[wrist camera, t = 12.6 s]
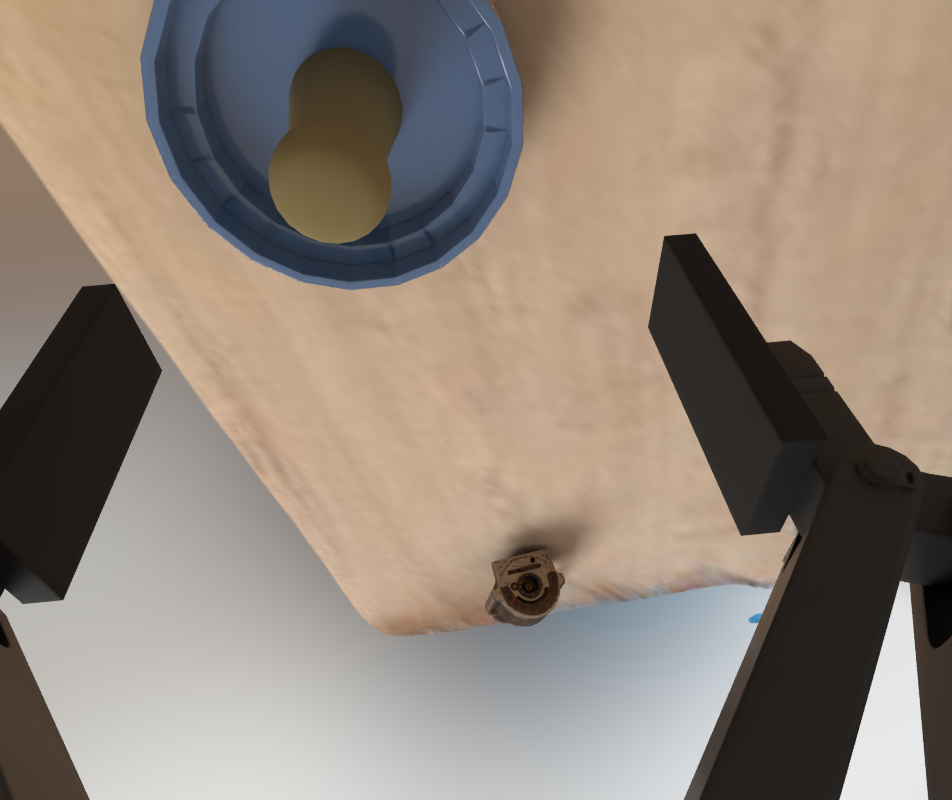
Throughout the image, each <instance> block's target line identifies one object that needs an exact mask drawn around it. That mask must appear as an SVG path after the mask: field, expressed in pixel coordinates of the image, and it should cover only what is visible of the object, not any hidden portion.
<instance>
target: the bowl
mask: <svg viewBox="0 0 952 800" xmlns="http://www.w3.org/2000/svg"><path fill="white" fill-rule="evenodd" d="M335 47H343V48H349V49H355V50H359V51H361V52H363V53H365V54H366V55H368V56H370V57H372V58H374V59H376V60H377V61H378V62H379V63H380V64H381V65H382V66H383V67H384V68H385V69H386V70H387V71H388V72H389V74H390V75H391V77H392V79H393V81H394V83H395V84H396V86H397V88H398V90H399V94H400V99H401V104H402V108H403V109H402V120H401V127H400V130H399V132H398V135H397V137H396V140H395V142H394V145H393V147H392V149H391V152H390V154H389V157H388V159H387V162H388V166H389V170H390V174H391V178H392V187H391V200H390V204H389V206H388V208H387V211H386V213H385V215H384V217H383V219H382V220H381V222H380V223H379V224H378V225H377V226H376V227H375V228H374V229H373V230H372V231H371V232H370V233H369V234H367V235H365V236H363V237H361V238H359V239H357V240H355V241H351V242H345V243H340V244H335V243H326V242H319V241H317V240H314V239H312V238H309V237H307V236H304V235H303V234H301V233H300V232H298V231H297V230H296V229H294V228H293V227H292V226H290V225H289V224H288V223H287V222H286V220H285V219H284V218H283V216H282V215H281V214H280V213H279V211H278V210H277V208H276V205H275V203H274V200H273V198H272V195H271V192H270V187H269V170H268V169H269V165H270V162H271V159H272V156H273V152H274V150H275V147H276V145H277V144H278V143H279V142H280V140H281V139H282V138H283V137H284V135H285V134H286V133H287V132H288V131H289V90H290V87H291V84H292V80H293V77H294V74H295V72H296V71H297V70H298V69H299V67H300V66H301V65H302V63H303V62H304V61H305V59H307V58H309V57H310V56H312V55H314V54H315V53H317V52H318V51H320V50H324V49H329V48H335ZM140 60H141V71H142V81H143V91H144V101H145V111H146V120H147V123H148V126H149V128H150V130H151V133H152V135H153V138H154V140H155V142H156V145H157V147H158V150H159V152H160V154H161V157H162V159H163V162H164V164H165V166H166V169H167V171H168V174H169V176H170V178H171V180H172V181H173V183H174V184H175V185H176V186H177V188H178V189H179V190H180V192H181V193H182V194H183V195H184V197H185V198H186V199H187V201H188V202H189V203H190V204H191V206H192V207H193V208H194V210H195V211H196V212H197V213H198V215H199V216H200V217H201V219H202V220H203V221H204V222H205V224H206V225H207V226H208V227H209V228H210V229H212V230H213V231H214V232H216V233H217V234H218V235H219V236H221V237H222V238H223V239H225V240H226V241H227V242H229V243H230V244H231V245H232V246H234V247H235V248H236V249H238V250H239V251H240V252H241V253H243V254H244V255H245V256H247V257H248V258H249V259H251V260H253V261H254V262H256V263H259V264H261V265H263V266H265V267H268V268H270V269H272V270H275V271H277V272H279V273H281V274H284V275H286V276H288V277H291V278H293V279H295V280H297V281H301V282H304V283H310V284H317V285H323V286H329V287H335V288H341V289H347V290H355V289H365V288H375V287H385V286H395V285H400V284H402V283H405V282H407V281H410V280H412V279H415V278H417V277H420V276H422V275H425V274H427V273H430V272H433V271H435V270H438V269H440V268H441V267H444V266H445V265H446V264H447V263H449V262H450V261H451V260H452V259H454V258H455V257H456V256H458V255H459V254H460V253H461V252H463V251H464V250H465V249H466V248H468V247H469V246H470V245H471V244H473V243H474V242H475V241H476V240H478V239H479V238H480V236H481V235H482V234H483V232H484V231H485V229H486V228H487V226H488V225H489V223H490V222H491V220H492V219H493V217H494V216H495V214H496V213H497V212H498V210H499V209H500V207H501V206H502V204H503V203H504V201H505V200H506V198H507V196H508V194H509V191H510V187H511V184H512V181H513V177H514V174H515V171H516V167H517V164H518V161H519V157H520V154H521V151H522V147H523V86H522V82H521V79H520V75H519V72H518V69H517V66H516V63H515V60H514V57H513V54H512V51H511V48H510V45H509V41H508V38H507V35H506V32H505V29H504V26H503V23H502V21H501V19H500V17H499V14H498V12H497V10H496V8H495V6H494V4H493V2H492V1H491V0H154V3H153V7H152V11H151V15H150V19H149V23H148V27H147V31H146V35H145V39H144V43H143V47H142V51H141V57H140Z"/></svg>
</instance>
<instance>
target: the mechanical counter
mask: <svg viewBox="0 0 952 800" xmlns="http://www.w3.org/2000/svg"><path fill="white" fill-rule="evenodd" d="M492 568H493V573H494V576H495V581H496V582H495V585H494V588H493V591H492V592H491V593H490V595H489V598H488V600H487V601H486V604H485V608H486V613H487V614H489V615H492V616H493V618H494V619H495V620H496V621H497V622H501V623H511V624H513V625H516V626H531V625H534V624H537V623H538V622H540V621H541V620H542V619H543V618H544V617H545V616H546V615H547V614H548V613H549V612H550V611H552V610H553V608H554V607H555V605H556V603H557V602H558V599H559V596H560V589H561V587H562V586H563V585H564V583H565V579H564V576H563V574H562V573H557V572H556V571H555V568H554V565H553V562H552V559H551V557H550V554H549V551H548V549H547V548H546V549H542V550H538V551H534V552H530V553H526V554H522V555H518V556H514V557H509V558H505V559H502V560H498V561H494V562H492Z"/></svg>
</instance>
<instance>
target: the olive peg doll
mask: <svg viewBox="0 0 952 800" xmlns="http://www.w3.org/2000/svg"><path fill="white" fill-rule="evenodd" d="M402 109H403V108H402V104H401V99H400V94H399V90H398V88H397V86H396V84H395V83H394V81H393V79H392V77H391V75H390V74H389V72H388V71H387V70H386V69H385V68H384V67H383V66H382V65H381V64H380V63H379V62H378V61H377V60H376V59H374V58H372V57H370V56H368V55H366V54H365V53H363V52H361V51H359V50H355V49H349V48H343V47H335V48H329V49H324V50H320V51H318V52H317V53H315V54H314V55H312V56H310V57H309V58H307V59H305V61H304V62H303V63H302V65H301V66H300V67H299V69H298V70H297V71H296V72H295V74H294V77H293V80H292V84H291V87H290V90H289V131H288V132H287V133H286V134H285V135H284V137H283V138H282V139H281V140H280V142H279V143H278V144H277V145H276V147H275V150H274V152H273V156H272V159H271V162H270V165H269V169H268V170H269V187H270V192H271V195H272V198H273V200H274V203H275V205H276V208H277V210H278V211H279V213H280V214H281V215H282V216H283V218H284V219H285V220H286V222H287V223H288V224H289V225H290V226H292V227H293V228H294V229H296V230H297V231H298V232H300V233H301V234H303V235H304V236H307V237H309V238H312V239H314V240H317V241H319V242H326V243H335V244H340V243H345V242H351V241H355V240H357V239H359V238H361V237H363V236H365V235H367V234H369V233H370V232H371V231H372V230H373V229H374V228H375V227H376V226H377V225H378V224H379V223H380V222H381V220H382V219H383V217H384V215H385V213H386V211H387V208H388V206H389V204H390V200H391V187H392V178H391V174H390V170H389V166H388V162H387V159H388V157H389V154H390V152H391V149H392V147H393V145H394V142H395V140H396V137H397V135H398V132H399V130H400V127H401V120H402Z"/></svg>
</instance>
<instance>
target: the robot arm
mask: <svg viewBox="0 0 952 800" xmlns="http://www.w3.org/2000/svg"><path fill="white" fill-rule="evenodd" d="M648 328H649V330H650V333H651V335H652V337H653V339H654V342H655V344H656V346H657V348H658V351H659V353H660V355H661V357H662V360H663V362H664V364H665V366H666V369H667V371H668V373H669V375H670V378H671V380H672V382H673V384H674V387H675V389H676V391H677V393H678V395H679V398H680V400H681V402H682V404H683V407H684V409H685V411H686V413H687V416H688V418H689V420H690V422H691V425H692V427H693V429H694V431H695V434H696V436H697V438H698V440H699V443H700V445H701V447H702V449H703V452H704V454H705V456H706V458H707V461H708V463H709V465H710V467H711V470H712V472H713V474H714V476H715V479H716V481H717V483H718V485H719V487H720V490H721V492H722V494H723V496H724V499H725V501H726V503H727V505H728V508H729V510H730V512H731V514H732V517H733V519H734V521H735V523H736V526H737V528H738V530H739V532H740V535H741V536H743V535H753V534H764V533H775V532H780V531H781V529H782V527H783V525H784V523H785V521H786V519H787V517H788V515H790V516H791V518H792V520H793V522H794V524H795V526H796V528H797V530H798V533H797V535H796V537H795V539H794V541H793V542H792V544H791V546H790V548H789V550H788V552H787V553H786V555H785V557H784V559H783V562H784V564H783V567H782V569H781V572H780V574H779V576H778V579H777V581H776V583H775V586H774V588H773V590H772V593H771V595H770V598H769V600H768V602H767V605H766V607H765V610H764V612H763V614H762V616H761V619H760V621H759V624H758V626H757V628H756V631H755V633H754V635H753V638H752V640H751V643H750V645H749V647H748V650H747V652H746V654H745V657H744V659H743V662H742V664H741V666H740V668H739V671H738V673H737V675H736V678H735V680H734V683H733V685H732V687H731V690H730V692H729V694H728V697H727V699H726V701H725V704H724V707H723V709H722V711H721V713H720V716H719V718H718V720H717V723H716V725H715V728H714V730H713V732H712V735H711V737H710V739H709V742H708V744H707V746H706V749H705V751H704V754H703V756H702V758H701V761H700V763H699V765H698V768H697V770H696V773H695V775H694V777H693V779H692V782H691V784H690V786H689V789H688V791H687V794H686V796H685V798H684V800H839V799H840V795H841V792H842V788H843V784H844V781H845V777H846V774H847V770H848V767H849V763H850V759H851V756H852V752H853V748H854V745H855V741H856V737H857V734H858V730H859V727H860V723H861V720H862V716H863V712H864V709H865V705H866V702H867V698H868V694H869V691H870V687H871V683H872V680H873V676H874V673H875V669H876V665H877V662H878V658H879V654H880V651H881V647H882V644H883V640H884V636H885V633H886V629H887V626H888V622H889V618H890V615H891V611H892V607H893V604H894V600H895V597H896V593H897V589H898V586H899V581H904V582H909V583H910V592H911V604H912V615H913V626H914V639H915V650H916V662H917V673H918V685H919V697H920V708H921V720H922V731H923V742H924V755H925V766H926V778H927V789H928V800H952V477H946V476H940V475H934V474H928V473H924V472H920V470H919V468H918V467H917V466H916V465H915V464H914V463H913V462H912V461H911V460H909V459H908V458H907V457H906V456H905V455H903V454H901V453H899V452H897V451H895V450H893V449H891V448H888V447H884V446H880V445H876V444H874V443H873V441H872V440H871V438H870V437H869V436H868V434H867V433H866V431H865V430H864V429H863V427H862V426H861V424H860V423H859V422H858V420H857V419H856V417H855V416H854V415H853V413H852V412H851V410H850V409H849V408H848V406H847V405H846V403H845V402H844V401H843V399H842V398H841V396H840V395H839V394H838V392H837V391H836V392H835V391H834V387H833V385H832V384H831V382H830V381H829V380H828V378H827V377H824V373H823V371H822V370H821V368H820V367H819V366H818V364H817V363H816V361H815V360H814V359H813V357H812V356H811V355H810V354H809V353H807V352H806V351H804V350H803V349H801V348H800V347H799V346H797V345H796V344H794V343H793V342H792V341H780V342H769V343H767V342H766V341H765V339H764V338H763V336H762V335H761V333H760V332H759V330H758V328H757V327H756V325H755V324H754V322H753V321H752V319H751V318H750V316H749V315H748V313H747V311H746V310H745V308H744V307H743V305H742V304H741V302H740V301H739V299H738V298H737V296H736V295H735V293H734V291H733V290H732V288H731V287H730V285H729V284H728V282H727V281H726V279H725V278H724V276H723V275H722V273H721V271H720V270H719V268H718V267H717V265H716V264H715V262H714V261H713V259H712V258H711V256H710V255H709V253H708V251H707V250H706V248H705V247H704V245H703V244H702V242H701V241H700V239H699V238H698V236H697V234H696V233H695V234H684V235H672V236H664V241H663V246H662V252H661V258H660V263H659V269H658V274H657V280H656V286H655V291H654V297H653V303H652V308H651V314H650V320H649V325H648ZM161 372H162V370H161V368H160V366H159V364H158V362H157V360H156V359H155V357H154V355H153V353H152V351H151V349H150V348H149V346H148V344H147V342H146V340H145V338H144V336H143V335H142V333H141V331H140V329H139V327H138V325H137V324H136V322H135V320H134V318H133V316H132V314H131V313H130V311H129V309H128V307H127V305H126V303H125V302H124V300H123V298H122V296H121V294H120V292H119V290H118V289H117V287H116V285H115V284H107V285H95V286H83V287H82V288H81V290H80V291H79V292H78V294H77V295H76V297H75V298H74V300H73V301H72V303H71V304H70V306H69V307H68V309H67V310H66V312H65V313H64V315H63V316H62V318H61V320H60V321H59V322H58V324H57V325H56V327H55V329H54V330H53V331H52V333H51V334H50V336H49V337H48V339H47V340H46V342H45V343H44V345H43V346H42V348H41V349H40V351H39V353H38V354H37V355H36V357H35V358H34V360H33V361H32V363H31V364H30V366H29V368H28V369H27V370H26V372H25V374H24V375H23V376H22V378H21V380H20V381H19V382H18V384H17V386H16V387H15V388H14V390H13V391H12V393H11V394H10V396H9V397H8V399H7V400H6V402H5V404H4V405H3V406H2V408H1V409H0V597H1V595H2V593H3V591H4V589H6V590H7V591H9V592H10V593H11V594H12V595H13V596H14V597H16V598H17V599H18V600H19V601H20V602H21V603H22V604H27V603H38V602H49V601H59V600H63V599H64V597H65V595H66V593H67V590H68V588H69V586H70V583H71V581H72V578H73V576H74V574H75V572H76V569H77V567H78V565H79V562H80V560H81V558H82V555H83V553H84V551H85V548H86V546H87V544H88V541H89V539H90V536H91V534H92V532H93V530H94V527H95V525H96V523H97V521H98V518H99V516H100V513H101V511H102V509H103V507H104V504H105V502H106V500H107V497H108V495H109V493H110V490H111V488H112V486H113V483H114V481H115V479H116V476H117V474H118V472H119V470H120V467H121V465H122V463H123V460H124V458H125V456H126V453H127V451H128V449H129V446H130V444H131V441H132V439H133V437H134V435H135V432H136V430H137V427H138V425H139V423H140V421H141V418H142V416H143V414H144V411H145V409H146V407H147V405H148V402H149V400H150V397H151V395H152V393H153V390H154V388H155V386H156V384H157V381H158V379H159V377H160V374H161ZM0 800H89V798H88V795H87V793H86V791H85V789H84V786H83V784H82V782H81V780H80V778H79V775H78V773H77V771H76V769H75V766H74V764H73V762H72V760H71V758H70V755H69V753H68V751H67V749H66V747H65V744H64V742H63V740H62V738H61V736H60V733H59V731H58V729H57V727H56V725H55V722H54V720H53V718H52V716H51V714H50V711H49V709H48V707H47V705H46V703H45V700H44V698H43V696H42V694H41V691H40V689H39V687H38V685H37V683H36V680H35V678H34V676H33V674H32V672H31V669H30V667H29V665H28V663H27V660H26V658H25V656H24V654H23V652H22V650H21V647H20V645H19V643H18V641H17V639H16V636H15V634H14V632H13V630H12V628H11V625H10V623H9V621H8V619H7V616H6V615H5V614H4V613H3V612H2V611H1V610H0Z"/></svg>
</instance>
